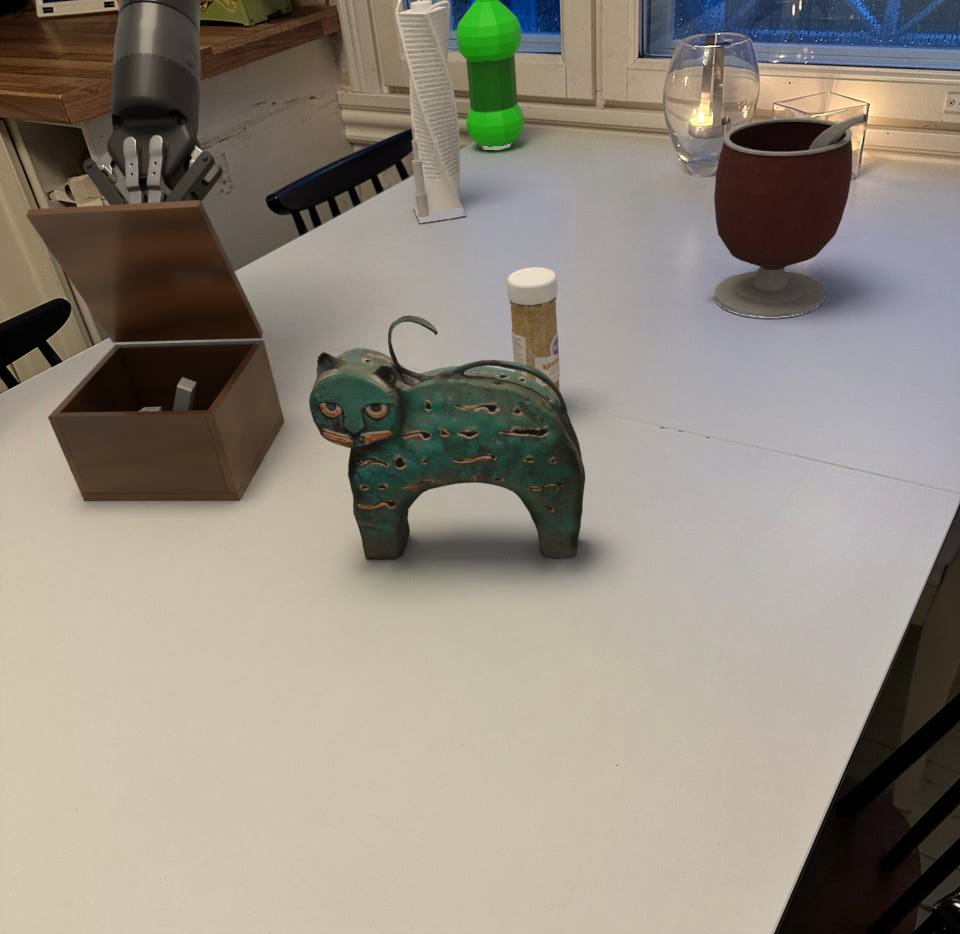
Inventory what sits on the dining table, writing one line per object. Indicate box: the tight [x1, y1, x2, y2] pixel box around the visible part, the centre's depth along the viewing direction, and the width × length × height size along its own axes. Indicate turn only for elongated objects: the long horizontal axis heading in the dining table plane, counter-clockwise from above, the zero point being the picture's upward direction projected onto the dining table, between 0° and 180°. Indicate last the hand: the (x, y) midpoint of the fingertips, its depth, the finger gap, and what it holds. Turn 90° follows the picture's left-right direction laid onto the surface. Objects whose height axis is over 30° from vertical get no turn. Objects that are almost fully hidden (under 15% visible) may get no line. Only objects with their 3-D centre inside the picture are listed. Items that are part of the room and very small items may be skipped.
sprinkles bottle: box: [506, 266, 561, 402], centre depth 91 cm, size 5×5×13 cm
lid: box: [25, 200, 264, 344], centre depth 87 cm, size 15×16×1 cm
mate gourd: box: [713, 113, 868, 320], centre depth 103 cm, size 16×14×20 cm
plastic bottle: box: [455, 0, 525, 152], centre depth 158 cm, size 10×10×25 cm
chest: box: [47, 339, 285, 501], centre depth 92 cm, size 15×16×9 cm
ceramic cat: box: [308, 315, 586, 560], centre depth 73 cm, size 20×6×20 cm, turn 82°
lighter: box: [139, 377, 197, 411], centre depth 91 cm, size 7×2×8 cm, turn 86°
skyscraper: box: [394, 0, 467, 225], centre depth 134 cm, size 8×8×28 cm
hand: (148, 263), depth 86 cm, fingers closed
